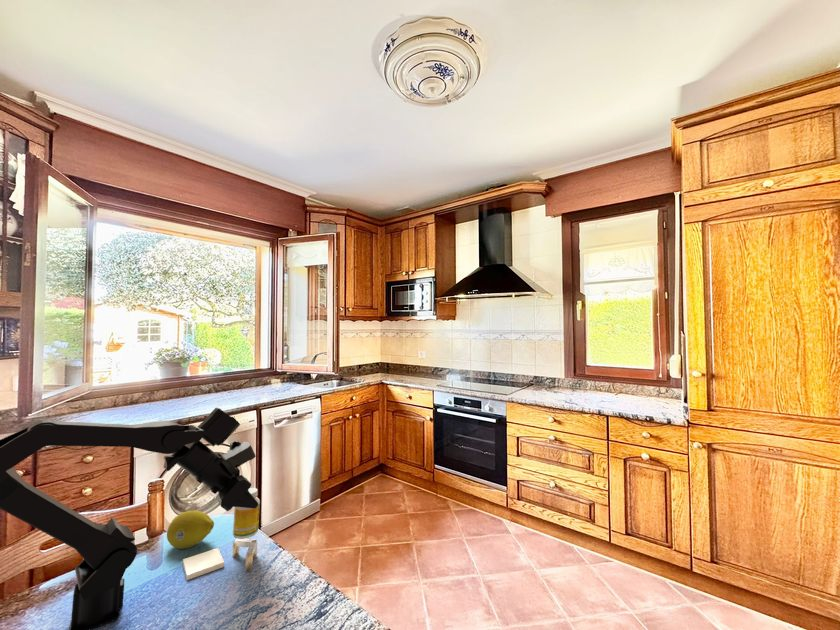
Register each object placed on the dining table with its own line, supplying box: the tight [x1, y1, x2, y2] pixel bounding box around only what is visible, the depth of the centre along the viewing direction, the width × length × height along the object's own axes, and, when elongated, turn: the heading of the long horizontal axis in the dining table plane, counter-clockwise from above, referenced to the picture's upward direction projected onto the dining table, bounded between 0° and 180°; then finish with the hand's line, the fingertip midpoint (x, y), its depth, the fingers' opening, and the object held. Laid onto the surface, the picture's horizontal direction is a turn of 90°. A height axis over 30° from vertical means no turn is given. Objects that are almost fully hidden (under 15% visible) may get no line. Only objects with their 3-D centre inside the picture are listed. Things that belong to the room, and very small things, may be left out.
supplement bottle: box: [232, 487, 261, 539], centre depth 81 cm, size 5×5×10 cm
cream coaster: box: [182, 547, 225, 581], centre depth 78 cm, size 7×7×1 cm
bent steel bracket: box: [231, 538, 258, 572], centre depth 80 cm, size 4×9×4 cm, turn 40°
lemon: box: [166, 510, 215, 550], centre depth 86 cm, size 11×8×8 cm
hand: (253, 501), depth 82 cm, fingers closed on supplement bottle, 5 cm apart
